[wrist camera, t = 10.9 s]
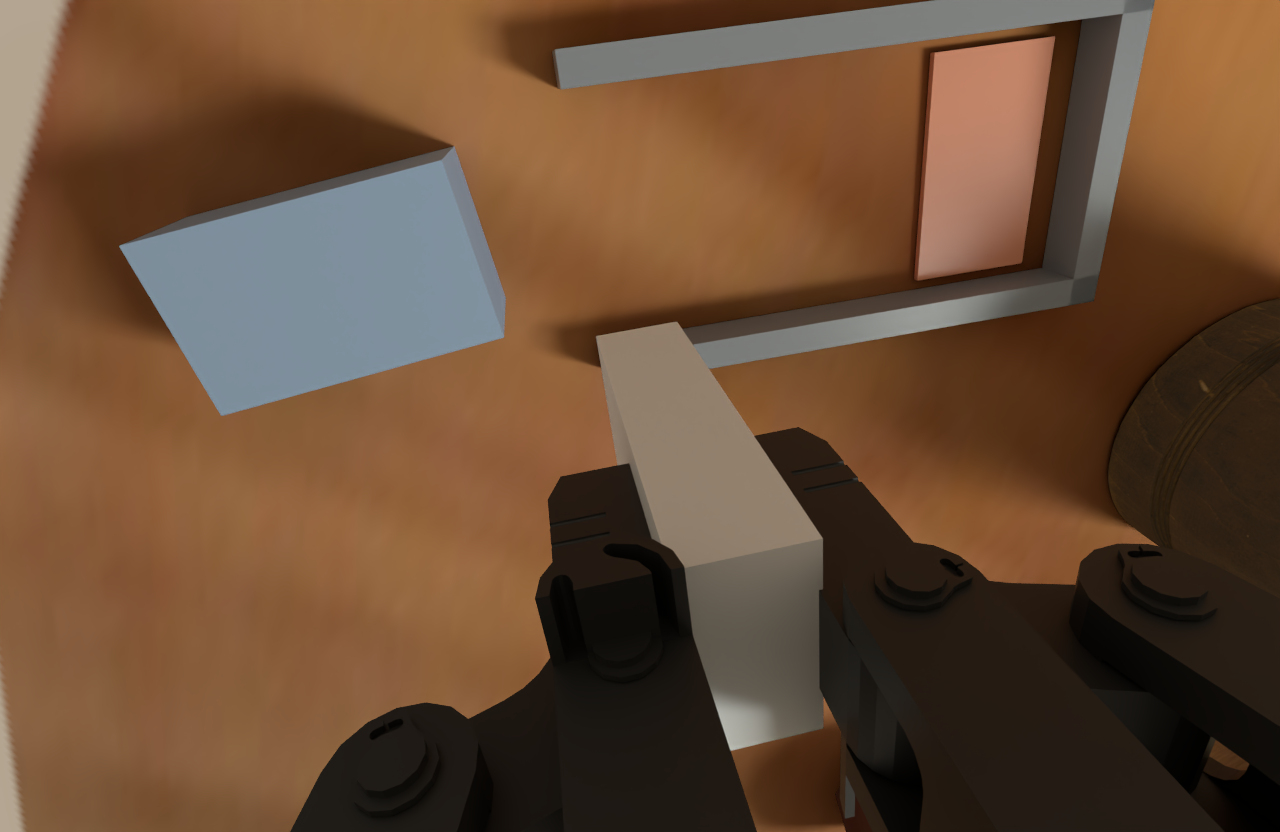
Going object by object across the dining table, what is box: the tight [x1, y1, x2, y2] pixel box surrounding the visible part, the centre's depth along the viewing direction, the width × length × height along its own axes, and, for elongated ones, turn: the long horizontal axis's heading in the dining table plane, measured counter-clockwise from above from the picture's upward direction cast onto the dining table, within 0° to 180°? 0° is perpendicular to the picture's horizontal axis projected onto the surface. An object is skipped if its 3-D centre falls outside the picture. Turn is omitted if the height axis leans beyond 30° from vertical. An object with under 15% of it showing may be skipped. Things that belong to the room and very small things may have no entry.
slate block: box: [119, 146, 506, 416], centre depth 24 cm, size 10×6×5 cm, turn 103°
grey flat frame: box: [552, 0, 1155, 369], centre depth 27 cm, size 22×12×2 cm, turn 97°
